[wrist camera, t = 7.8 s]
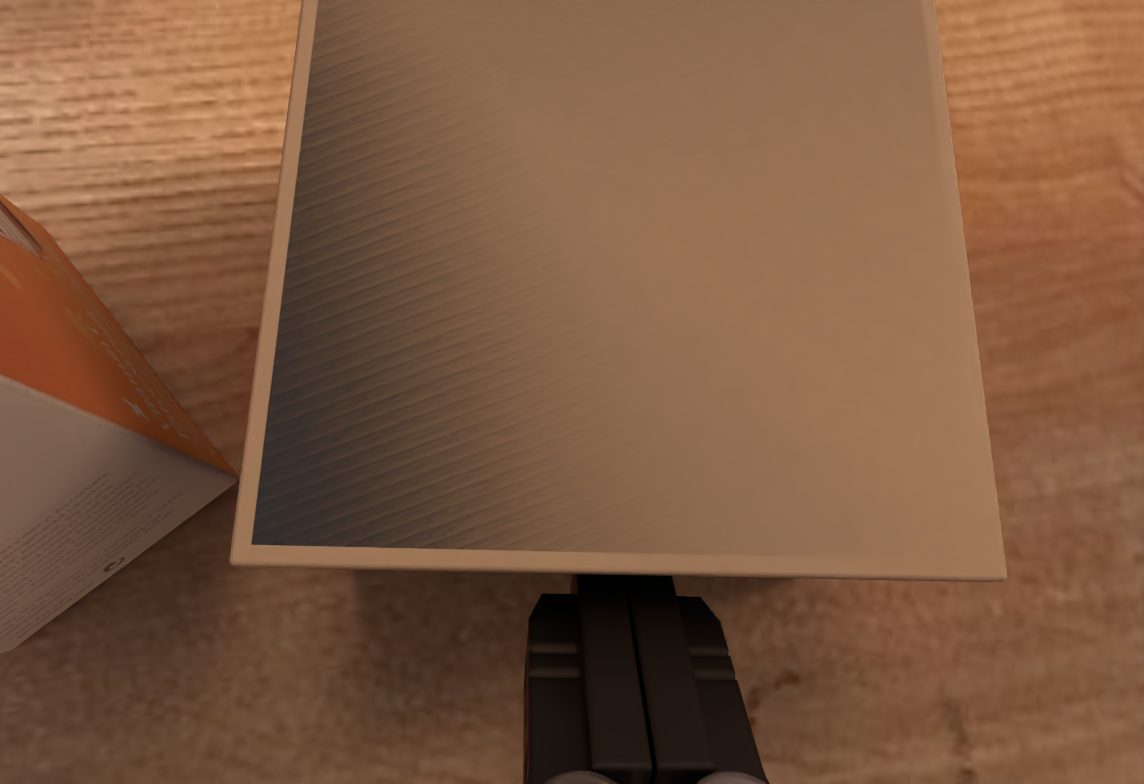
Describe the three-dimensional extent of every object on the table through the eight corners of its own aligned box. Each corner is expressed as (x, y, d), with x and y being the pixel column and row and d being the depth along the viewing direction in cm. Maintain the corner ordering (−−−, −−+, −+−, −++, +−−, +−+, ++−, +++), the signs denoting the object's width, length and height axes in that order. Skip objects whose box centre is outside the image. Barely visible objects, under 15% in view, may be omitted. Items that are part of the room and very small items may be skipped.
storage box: (810, 585, 17) (1010, 581, 10) (340, 576, 16) (226, 565, 10) (785, 174, 20) (931, -42, 13) (380, 148, 19) (312, -97, 12)
